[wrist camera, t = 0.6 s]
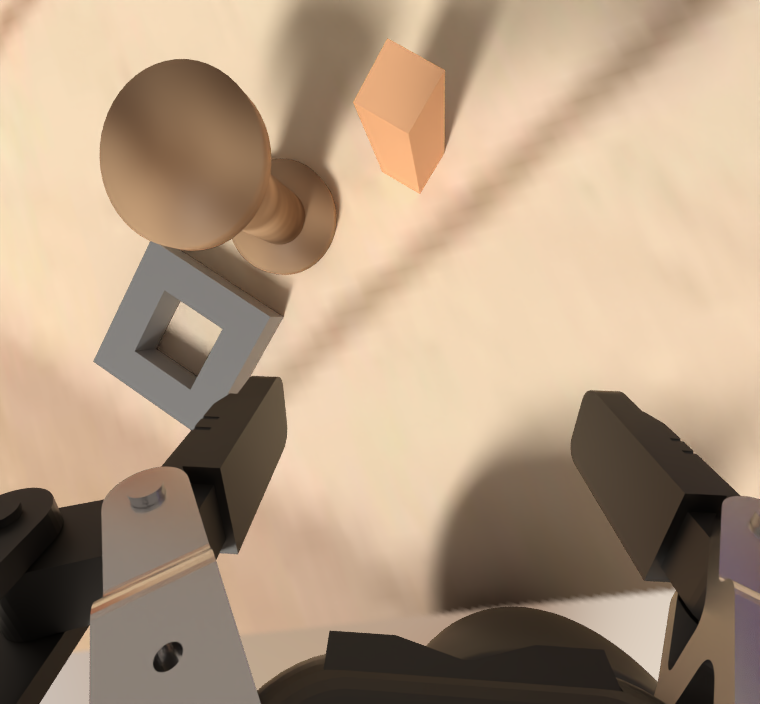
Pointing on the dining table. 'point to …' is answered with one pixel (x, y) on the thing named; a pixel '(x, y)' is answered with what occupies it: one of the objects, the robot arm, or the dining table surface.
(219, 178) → the bobbin
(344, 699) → the robot arm
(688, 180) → the dining table surface
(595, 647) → the bowl of black rocks
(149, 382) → the block with square hole
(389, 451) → the dining table surface
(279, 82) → the dining table surface
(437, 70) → the orange rectangular block
